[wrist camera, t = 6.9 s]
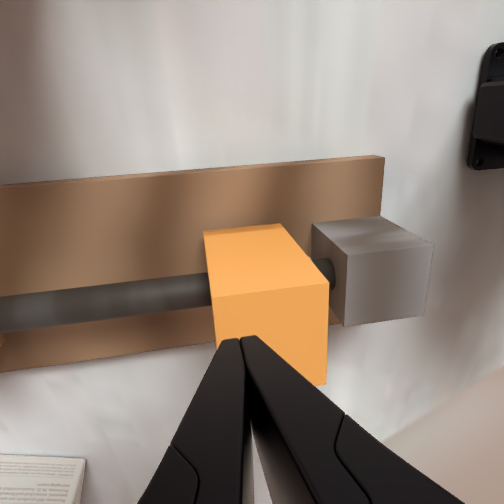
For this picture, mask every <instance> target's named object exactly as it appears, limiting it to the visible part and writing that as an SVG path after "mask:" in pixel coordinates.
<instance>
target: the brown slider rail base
mask: <svg viewBox="0 0 504 504" xmlns="http://www.w3.org/2000/svg"><path fill="white" fill-rule="evenodd" d="M384 164H385V158H384V157H380V156H376V155H369V156H357V157H344V158H332V159H319V160H307V161H294V162H282V163H269V164H256V165H244V166H231V167H219V168H206V169H194V170H181V171H169V172H156V173H144V174H131V175H119V176H106V177H94V178H81V179H69V180H56V181H43V182H31V183H18V184H6V185H0V373H2V372H9V371H16V370H22V369H29V368H36V367H43V366H50V365H57V364H64V363H71V362H78V361H85V360H91V359H98V358H105V357H112V356H119V355H126V354H133V353H140V352H147V351H154V350H160V349H167V348H174V347H181V346H188V345H195V344H202V343H209V342H216V340H215V332H214V324H213V316H212V307H211V306H212V303H211V294H210V285H209V276H208V271H207V262H206V253H205V244H204V235H203V231H209V230H219V229H229V228H239V227H248V226H258V225H268V224H277V223H281V225H282V226H283V227H284V228H285V230H286V231H287V232H288V233H289V234H290V236H291V237H292V238H293V239H294V240H295V242H296V243H297V244H298V245H299V246H300V248H301V249H302V250H303V251H304V253H305V254H306V255H307V256H308V257H309V259H310V260H311V261H312V262H313V263H314V265H315V266H316V267H317V268H318V270H319V271H320V272H321V273H322V274H323V276H324V277H325V278H326V279H327V280H328V282H329V309H328V325H333V324H340V323H342V325H343V326H344V327H347V326H354V325H361V324H368V323H375V322H382V321H388V320H395V319H402V318H409V317H416V316H422V315H424V309H425V302H426V295H427V289H428V282H429V275H430V268H431V261H432V255H433V248H434V245H433V244H431V243H429V242H427V241H425V240H423V239H422V238H420V237H418V236H416V235H414V234H412V233H411V232H409V231H407V230H405V229H403V228H401V227H400V226H398V225H396V224H394V223H392V222H391V221H389V220H387V219H385V218H383V217H381V216H380V211H381V199H382V187H383V175H384Z"/></svg>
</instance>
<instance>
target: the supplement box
mask: <svg viewBox="0 0 504 504" xmlns="http://www.w3.org/2000/svg"><path fill="white" fill-rule="evenodd" d="M85 464H86V460H85V459H81V458H65V457H45V456H27V455H2V454H0V504H80V500H81V493H82V486H83V479H84V472H85Z"/></svg>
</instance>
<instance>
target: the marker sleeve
mask: <svg viewBox="0 0 504 504" xmlns="http://www.w3.org/2000/svg"><path fill="white" fill-rule="evenodd" d="M203 235H204V244H205V253H206V262H207V271H208V276H209V285H210V294H211V303H212V306H211V307H212V316H213V324H214V332H215V340H216V348H217V349H218V347H219V345H220V343H221V341H222V340H224V339H231V338H238V339H239V341H240V338H241V337H244V336H251V335H256V336H258V337H259V338H260V339H261V340H262V341H264V342H265V343H266V344H267V345H268V346H269V347H270V348H272V349H273V350H274V351H275V352H276V353H277V354H278V355H280V356H281V357H282V358H283V359H284V360H285V361H286V362H288V363H289V364H290V365H291V366H292V367H293V368H294V369H296V370H297V371H298V372H299V373H300V374H301V375H302V376H304V377H305V378H306V379H307V380H308V381H309V382H310V383H312V384H313V385H314V386H320V385H326V373H327V341H328V309H329V282H328V280H327V279H326V278H325V277H324V276H323V274H322V273H321V272H320V271H319V270H318V268H317V267H316V266H315V265H314V263H313V262H312V261H311V260H310V259H309V257H308V256H307V255H306V254H305V253H304V251H303V250H302V249H301V248H300V246H299V245H298V244H297V243H296V242H295V240H294V239H293V238H292V237H291V236H290V234H289V233H288V232H287V231H286V230H285V228H284V227H283V226H282V225H281V223H277V224H268V225H258V226H248V227H239V228H229V229H219V230H209V231H203Z"/></svg>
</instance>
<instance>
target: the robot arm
mask: <svg viewBox="0 0 504 504" xmlns="http://www.w3.org/2000/svg"><path fill="white" fill-rule="evenodd" d="M496 50H497V51H498V55H497V58H496V57H495V53H496ZM478 158H479V161H478V163H477V164H476V160H477V159H478ZM467 165H468V167H469V168H470V169H474V170H487V169H498V168H504V42H501V43H497V44H493V45H491V46H490V47H489V48H488V49H487V51H486V54H485V58H484V64H483V70H482V76H481V82H480V88H479V94H478V100H477V106H476V111H475V117H474V123H473V129H472V135H471V141H470V147H469V153H468V159H467ZM251 427H252V431H251ZM252 432H253V436H254V440H255V444H256V447H257V451H258V454H259V458H260V461H261V465H262V468H263V472H264V475H265V479H266V482H267V486H268V489H269V493H270V496H271V500H272V503H273V504H465V503H464V502H462V501H461V500H459V499H458V498H457V497H455V496H454V495H452V494H451V493H450V492H448V491H447V490H445V489H444V488H442V487H441V486H440V485H438V484H437V483H435V482H434V481H433V480H431V479H430V478H428V477H427V476H426V475H424V474H423V473H421V472H420V471H419V470H417V469H416V468H414V467H413V466H411V465H410V464H409V463H407V462H406V461H405V460H403V459H402V458H400V457H399V456H398V455H396V454H395V453H394V452H392V451H391V450H390V449H388V448H387V447H386V446H384V445H383V444H382V443H380V442H379V441H378V440H377V439H376V438H374V437H373V436H372V435H371V434H369V433H368V432H367V431H366V430H365V429H363V428H362V427H361V426H360V425H359V424H357V423H356V422H355V421H354V420H353V419H352V418H351V417H349V416H348V415H345V413H344V411H342V410H341V409H340V408H339V407H338V406H337V405H336V404H334V403H333V402H332V401H331V400H330V399H329V398H328V397H326V396H325V395H324V394H323V393H322V392H321V391H320V390H318V389H317V388H316V387H315V386H314V385H313V384H312V383H310V382H309V381H308V380H307V379H306V378H305V377H304V376H302V375H301V374H300V373H299V372H298V371H297V370H296V369H294V368H293V367H292V366H291V365H290V364H289V363H288V362H286V361H285V360H284V359H283V358H282V357H281V356H280V355H278V354H277V353H276V352H275V351H274V350H273V349H272V348H270V347H269V346H268V345H267V344H266V343H265V342H264V341H262V340H261V339H260V338H259V337H258V336H256V335H251V336H244V337H241V338H240V341H239V339H238V338H231V339H224V340H222V341H221V343H220V345H219V347H218V349H217V351H216V353H215V355H214V357H213V359H212V361H211V363H210V365H209V367H208V369H207V371H206V373H205V375H204V377H203V379H202V381H201V383H200V385H199V387H198V389H197V391H196V393H195V395H194V397H193V399H192V401H191V403H190V405H189V407H188V409H187V411H186V413H185V415H184V417H183V419H182V421H181V423H180V425H179V427H178V429H177V431H176V433H175V435H174V437H173V439H172V441H171V443H170V445H171V446H169V447H168V449H167V451H166V453H165V455H164V457H163V459H162V461H161V463H160V465H159V466H158V468H157V470H156V472H155V474H154V476H153V478H152V479H151V481H150V483H149V485H148V487H147V489H146V490H145V492H144V493H143V495H142V497H141V498H140V500H139V501H138V503H137V504H254V480H253V450H252Z"/></svg>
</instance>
